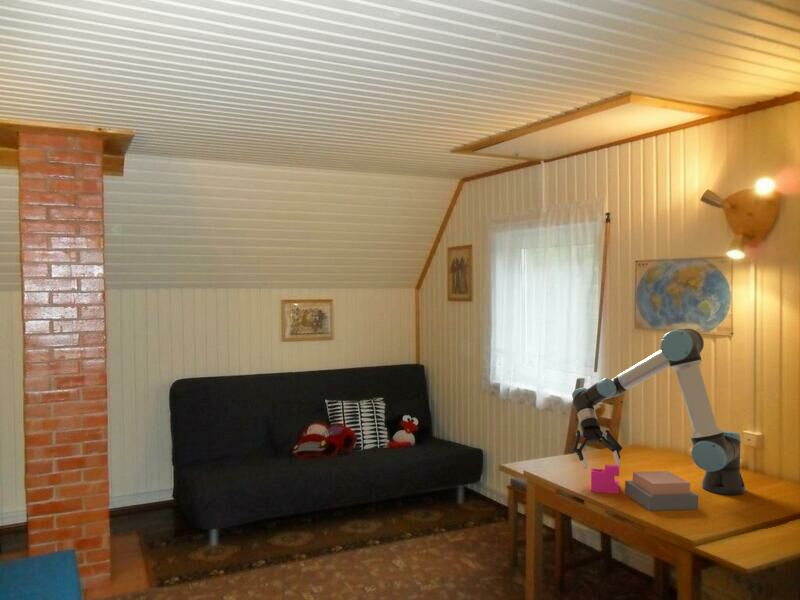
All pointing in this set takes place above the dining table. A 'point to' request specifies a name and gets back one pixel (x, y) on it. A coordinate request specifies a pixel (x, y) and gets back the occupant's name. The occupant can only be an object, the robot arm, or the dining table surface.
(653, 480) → the two-tone base plate
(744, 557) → the dining table surface
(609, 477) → the bracket
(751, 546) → the dining table surface
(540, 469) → the dining table surface
